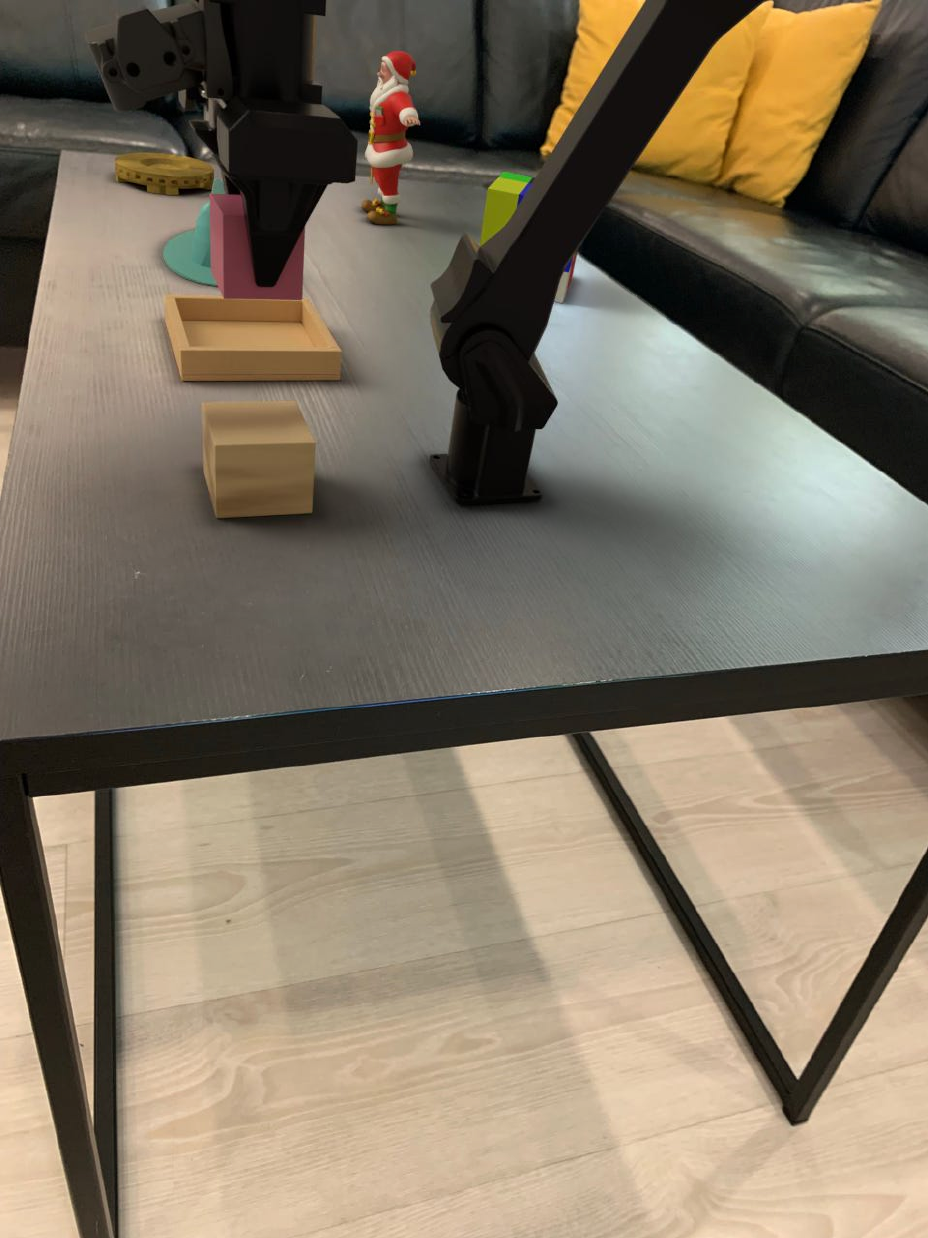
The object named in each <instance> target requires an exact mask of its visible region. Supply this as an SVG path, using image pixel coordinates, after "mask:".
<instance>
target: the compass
mask: <svg viewBox="0 0 928 1238" xmlns="http://www.w3.org/2000/svg"><path fill="white" fill-rule="evenodd" d="M114 170H115V171H114V172H115V180H116V182H117V183H135V184H138V185H144V186H146V193H151V194H158V195H167V196H168V195H169V196H179V194H180V193H179V189H180V190H181V189H182V190H183V189H203V190H207V191H208V190H210V191H212V188H213V183H214V179H215V168H214V166H212V165H211V164H210V163H208V162H205V161H203V160H200V159H197V158H193V157H189V156H184V155H179V154H172V153H162V152H130V153H124V154H123V153H122V154H120V155H118V156H116V157H114Z"/></svg>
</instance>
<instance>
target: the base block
mask: <svg viewBox="0 0 928 1238" xmlns="http://www.w3.org/2000/svg"><path fill="white" fill-rule="evenodd" d="M201 424H202V425H201V427H202V428H201V429H202V464H203V465H202V466H203V469H202V470H203V476H204V478H205V482H206V486H207V489H208V494H209V498H210V501H211V504H212V505H211V506H212V508H213V511H214V516H215V518H216V519H228V518H229V519H230V518H246V517H263V516H265V517H266V516H267V517H268V516H285V515H303V514H304V515H305V514H312V513H313V508H314V507H313V506H314V505H313V504H314V487H315V485H314V484H315V468H316V467H315V466H316V447H317V446H316V445H317V443H316V442H317V441H315V438H314V436H313V433H312V431H311V430H310V427H309V425H308V423H307V421H306V419H305V417H304V415H303V412H302V411H301V407H300V406H299V404H298V402H297V401H296V400H264V401H263V400H254V401H253V400H250V401H249V400H248V401H247V400H245V401H243V400H242V401H241V400H240V401H239V400H238V401H201Z"/></svg>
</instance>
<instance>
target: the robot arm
mask: <svg viewBox="0 0 928 1238" xmlns="http://www.w3.org/2000/svg"><path fill="white" fill-rule="evenodd" d="M766 1H767V0H644V2H643V4H642V5H641V7H640V9H639V10H638V12H637V13H636V15H635V17H634V18H633V20H632V21H631V23H630V25H629V26H628V28H627V29H626V31H625V32H624V34H623V36H622V38H621V39H620V41H618V44H617V46H616V47H615V48H614V50H613V52H612V54H611V55H610V56H609V59H608V60H607V62H606V64H605V65H604V66H603V68H602V69H601V71H600V73H599V75H598V76H597V78H596V79H595V81H594V83H593V84H592V86H591V87H590V89H589V91H588V92H587V94H586V96H585V97H584V99H583V101H582V102H581V103H580V105H579V107H578V108H577V110H576V111H575V113H574V115H573V117H572V118H571V120H570V121H569V123H568V125H567V126H566V128H565V129H564V131H563V133H562V134H561V136H560V137H559V139H558V140H557V142H556V144H555V146H554V147H553V148H552V151H551V152H550V154H549V155H548V157H547V159H546V160H545V162H544V164H542V167H541V168H540V170H539V172H538V173H537V175H536V176H535V177H534V178H535V180H534V181H533V183H532V184H531V186H530V188H529V189H528V191H527V192H526V194H525V196H524V197H523V199H522V201H521V202H520V204H519V205H518V207H517V209H516V210H515V212H514V213H513V215H512V217H511V218H510V220H509V221H508V222H507V224H506V225H505V226H504V227H503V228H502V229H501V230H500V231H499V232H497V233H496V234H495V235H494V236H492V237H491V238H490V239H489V240H488V241H486V242H485V243H484V244H483V245H481V246H480V244H479V243H478V242H476V241H475V240H474V239H473V238H472V237H471V236H470V235H469V234H467V233H463V234H462V235H461V237H460V239H459V240H458V243H457V245H456V247H455V249H454V252H453V255H452V258H451V259H450V262H449V264H448V266H447V267H446V269H445V270H444V271H443V273H441V275H440V276H439V277H438V278H436V279H435V280H434V281H432V282H431V283H430V288H431V293H432V297H433V302H432V304H431V307H430V311H429V319H430V320H429V321H430V322H429V323H430V327H431V330H432V335H433V339H434V343H435V346H436V351H437V354H438V357H439V362H440V365H441V369H442V371H443V372H444V374H445V375H446V377H447V378H448V380H449V382H450V383H452V384H453V385H454V386H455V387H457V388H458V389H457V391H456V394H455V401H454V407H453V408H454V409H453V416H452V421H451V429H450V437H449V443H448V449H447V450H448V451H447V453H433V454H431V455H430V456H429V460H428V461H429V464H430V466H431V468H432V469H433V471H434V472H435V473H436V475H437V477H438V478H439V480H440V481H441V483H442V485H443V486H444V487H445V489H446V490H447V492H448V494H449V495H450V497H451V498H452V499H453V501H454V502H455V503H456V504H458V505H462V506H463V505H464V506H465V505H480V504H481V505H482V504H484V505H485V504H498V503H502V504H503V503H514V502H516V503H517V502H519V503H520V502H535V501H537V502H538V501H541V500H542V499H543V496H544V491H543V490H542V488H540V487H539V485H538V484H537V482H536V481H535V480H534V479H533V477H532V476H531V475H530V474H529V466H530V462H531V456H532V451H533V446H534V442H535V437H536V432H537V430H543V429H544V428H545V427H546V425H547V423H548V422H549V420H550V419H551V417H552V415H553V413H554V412H555V410H556V409H557V407H558V405H559V401H558V398H557V396H556V394H555V393H554V390H553V388H552V387H551V384H550V382H549V379H548V377H547V376H546V373H545V372H544V370H543V369H544V368H543V367H542V365H541V363H540V361H539V359H538V357H537V355H536V352H537V349H538V347H539V344H540V342H541V341H542V338H543V336H544V334H545V331H546V329H547V327H548V325H549V321H550V318H551V314H552V311H553V307H554V303H555V302H554V300H555V297H556V293H557V290H558V286H559V283H560V279H561V277H562V274H563V272H564V270H565V268H566V266H567V265H568V263H569V262H570V260H571V259H572V257H573V256H574V254H575V253H576V251H577V250H578V251H579V248H580V246H581V245H582V244H583V242H584V241H585V239H586V238H587V236H588V235H589V233H590V232H591V230H592V229H593V227H594V226H595V224H596V223H597V221H598V220H599V219H600V217H601V215H602V214H603V213H604V211H605V209H606V208H607V206H608V205H609V203H610V202H611V200H612V199H613V197H614V196H615V194H616V193H617V191H618V190H619V188H620V187H621V185H622V184H623V183H624V181H625V179H626V178H627V176H628V175H629V173H630V172H631V170H632V169H633V167H634V166H635V164H636V163H637V161H638V160H639V158H640V157H641V155H642V154H643V153H644V151H645V150H646V148H647V146H648V145H649V143H650V142H651V140H652V139H653V137H654V136H655V134H656V133H657V131H658V130H659V128H660V127H661V125H662V124H663V122H665V119H666V118H667V116H668V115H669V114H670V112H671V110H672V109H673V107H674V106H675V105H676V103H677V101H678V100H679V98H680V97H681V95H682V94H683V92H684V91H685V89H686V88H687V86H688V85H689V84H690V82H691V80H692V79H693V77H694V76H695V74H696V73H697V72H698V70H699V68H700V67H701V65H702V64H703V62H704V61H705V59H706V58H707V56H709V54H710V52H711V51H712V49H713V48H714V46H715V45H716V44H717V43H718V42H719V41H720V40H721V39H722V38H723V37H724V36H725V35H726V34H728V32H729V31H731V30H732V29H733V28H735V26H737V25H738V24H739V23H740V22H742V21H743V20H744V19H745V18H747V17H748V16H749V15H750V14H751V13H752V12H754V11H755V10H756V9H757V8H759V7H760V6H761V5H762V4H764V2H766ZM138 8H139V9H137V10H134V11H130V12H126V13H122V12H120V11H118V12H115V13H114V21H113V22H110V23H106V24H103V25H100V26H96V27H93V28H91V29H89V30H87V31H85V32H84V34H83V36H84V38H85V40H86V43H87V46H88V48H89V51H90V53H91V55H92V58H93V60H94V63H95V66H96V69H97V70H98V73H99V74H100V78H101V80H102V82H103V85H104V88H105V90H106V92H107V95H108V97H109V100H110V102H111V105H112V107H113V110H114V111H115V112H117V113H125V112H130V111H136V110H138V109H141V108H144V107H145V105H146V103H147V102H148V101H152V100H156V99H159V98H162V97H166V96H169V95H172V94H176V93H178V103H179V104H180V105H181V108H183V110H184V111H196V105H197V104H200V105H201V104H202V106H203V108H202V109H203V119H189V120H188V123H189V125H190V127H191V128H192V130H193V131H194V133H195V134H196V136H197V137H198V138H199V139H200V140H201V141H202V142H203V143H204V145H205V146H206V147H207V148H208V149H209V150H210V151H211V157H212V159H213V161H214V162H215V163H216V165H217V166H218V168H219V169H220V174H221V179H222V181H223V186H224V191H225V194H229V195H241V199H242V206H243V212H244V219H245V225H246V231H247V238H248V244H249V251H250V257H251V263H252V269H253V275H254V280H255V283H256V285H257V286H258V287H274V286H275V285H276V283H277V281H278V279H279V277H280V275H281V273H282V271H283V269H284V267H285V265H286V263H287V261H288V259H289V257H290V255H291V253H292V251H293V249H294V247H295V245H296V243H297V241H298V239H299V237H300V235H301V233H302V231H303V229H304V227H305V228H306V225H307V223H308V221H309V220H310V219H311V216H312V214H313V213H314V211H315V210H316V208H317V206H318V204H319V201H320V200H321V198H322V197H323V195H324V193H325V191H326V189H327V187H328V186H329V185H332V184H351V183H354V182H356V176H357V175H356V174H357V162H358V161H357V159H358V145H359V140H358V139H357V138H356V137H355V135H354V134H353V133H352V131H351V129H350V128H349V127H348V126H347V125H346V123H345V122H344V120H343V119H342V118H341V117H340V116H339V115H337V114H336V113H335V112H333V111H332V110H331V109H330V108H329V107H327V106H326V105H325V104H322V101H323V85H322V84H321V83H319V82H318V81H316V80H315V79H314V66H315V65H314V64H315V63H314V61H315V40H316V39H315V38H316V37H315V35H316V16H320V17H321V16H322V17H326V15H327V14H326V13H327V0H189V1H187V2H183V3H180V4H175V5H172V6H168V7H162V8H159V9H155V10H149V9H148V7H147V6H146V5H145V4H142V5H139V7H138Z"/></svg>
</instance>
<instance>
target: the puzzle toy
mask: <svg viewBox="0 0 928 1238" xmlns="http://www.w3.org/2000/svg"><path fill="white" fill-rule="evenodd" d="M535 178H536V177H533V176H527V175H522V174H517V173H512V172H508V171H503V172H501V174H500V175H499V176H498V177H497V178H496V180H494V181H493V183H491V184H490V186H489V187H488V188H487V192H486V199H485V207H484V214H483V219H482V227H481V234H480V240H479V246H481V245H483V244H484V243H485V242H486V241H488V240H489V239H490V238H491V237H492V236H494V235H495V234H496V233H497V232H499V231H500V230H501V229H502V228H503V227H504V226H505V225H506V224H507V222H508V221H509V220H510V218H511V217H512V215H513V213H514V212H515V210H516V209H517V207H518V205H519V204H520V202H521V201H522V199H523V197H524V196H525V194H526V192H527V191H528V189H529V188H530V186H531V184H532V183H533V181H534V180H535ZM578 252H579V249H578V250H577V251H576V253H575V254H574V256H573V257H572V259H571V260H570V262H569V263H568V265H567V266H566V268H565V270H564V272H563V274H562V277H561V279H560V283H559V286H558V290H557V293H556V297H555V300H554V303H560V304H563V303H564V301H565V298H566V294H567V293H568V291H569V287H570V285H571V283H572V280H573V278H574V277H573V276H574V271H575V266H576V262H577V257H578Z"/></svg>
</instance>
